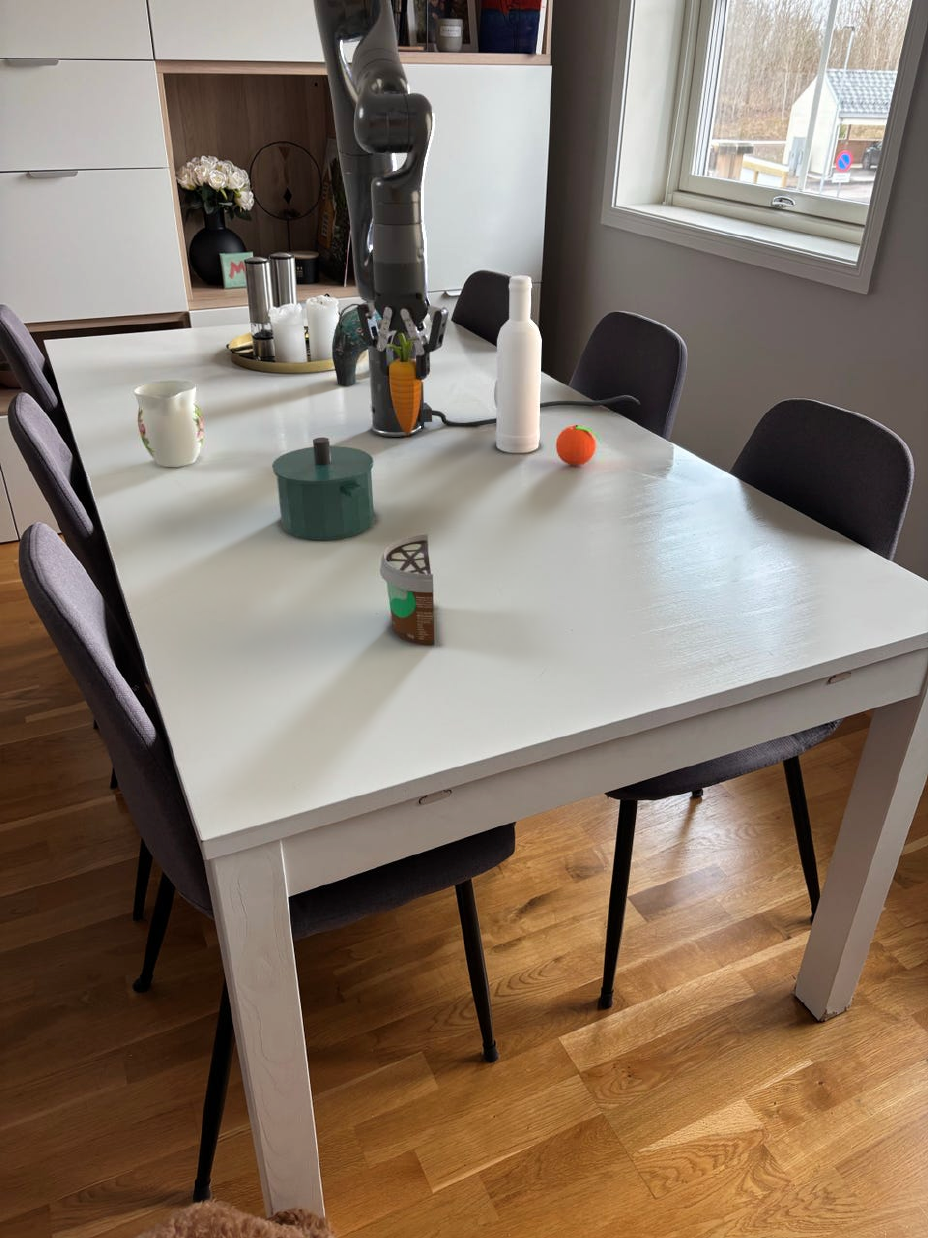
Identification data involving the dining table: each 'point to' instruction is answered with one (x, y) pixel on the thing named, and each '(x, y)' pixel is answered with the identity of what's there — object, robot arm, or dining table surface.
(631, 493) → the dining table surface
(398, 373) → the carrot
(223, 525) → the dining table surface
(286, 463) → the pot lid
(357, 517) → the pot
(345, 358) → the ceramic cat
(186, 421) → the pitcher
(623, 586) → the dining table surface
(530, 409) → the bottle
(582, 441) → the clementine
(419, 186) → the robot arm
